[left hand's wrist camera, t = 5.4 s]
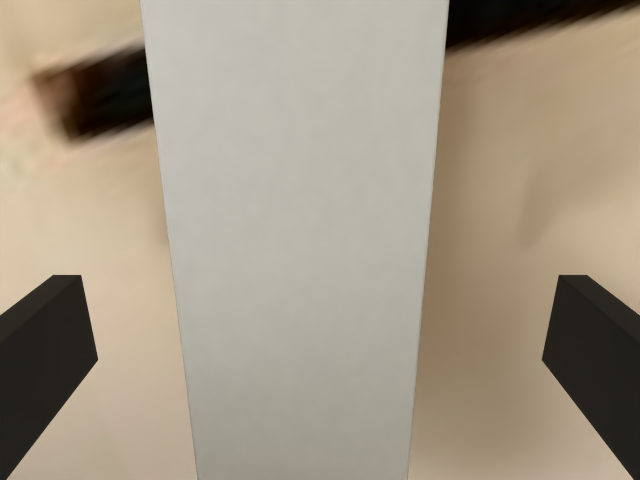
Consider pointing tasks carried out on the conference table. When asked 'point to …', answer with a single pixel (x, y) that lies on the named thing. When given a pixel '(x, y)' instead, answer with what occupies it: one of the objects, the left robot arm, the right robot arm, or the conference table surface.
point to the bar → (298, 224)
